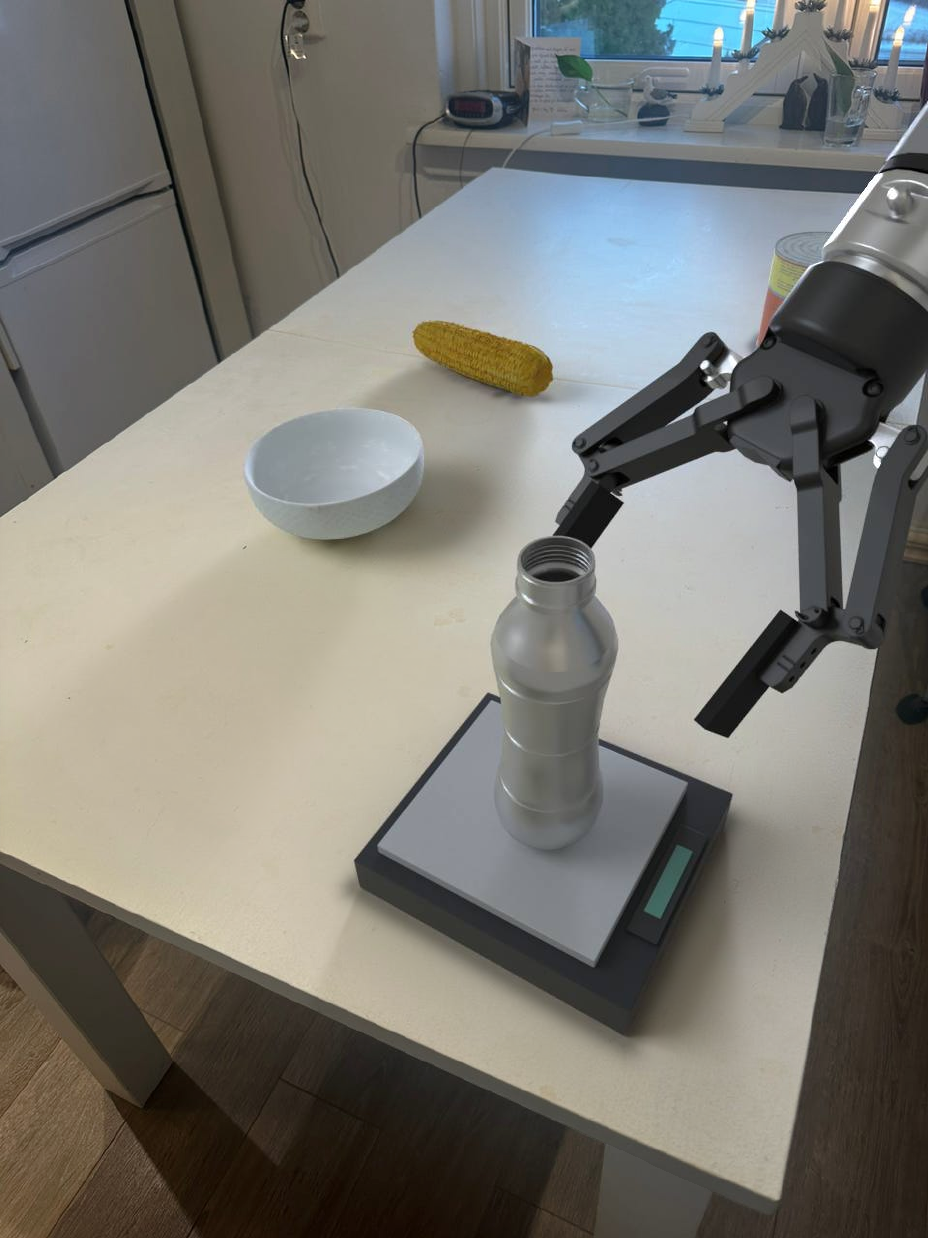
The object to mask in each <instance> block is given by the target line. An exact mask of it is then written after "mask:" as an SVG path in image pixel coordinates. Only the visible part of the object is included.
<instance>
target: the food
mask: <svg viewBox="0 0 928 1238" xmlns="http://www.w3.org/2000/svg"><path fill="white" fill-rule="evenodd" d="M412 338H413V345H415V348H416V349H417V351H419V353H420V354H421V355H423V356H424V357H425V358H427V359H429V360H431V362H432V361H433V362H434V363H436V364H439V366H443V367H446V368H448V369H449V370H452V371H453V372H455V373H457V374H460V375H463V376H464V377H467V378H470V379H472V380H475V381H478V382H481V383H483V384H485V385H486V384H487V386H493V387H496V388H499V389H503V390H504V391H507V392H509V393H512V394H517V395H521V396H525V397H536V396H539V395H540V394H541V393H543V392H544V391H546V390H547V389H548V388H549V386H550V384H551V383H552V382H553V380H554V375H553V368H554V365H553V362H552V361H551V359H550V357H549V356H548V355H547V354H546V353H545V352H544V351H543V350H541V349H540V348H538V347H536V346H534V345H531V344H529V343H526V342H523V341H520V340H519V341H518V340H515V339H512V338H511V339H510V338H507V337H505V336H499V335H497V334H492V333H490V331H485V330H480V329H477V328H471V327H467V326H465V325H464V324H462V325H461V324H460V323H455V322H450V321H443V320H428V321H422V322H421V323H418V324H417V326H415V328H414V330H413V331H412Z"/></svg>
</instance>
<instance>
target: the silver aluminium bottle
mask: <svg viewBox="0 0 928 1238" xmlns="http://www.w3.org/2000/svg"><path fill="white" fill-rule="evenodd" d="M514 590H515V596H514V597H513V598H512V599H511V601H510V602H509V603H508V604H507V605H506V607H505V608H504V609H503V610H502V612H501V613H500V614H499V616H498V618H497V620H496V622H495V625H494V628H493V631H492V633H491V638H490V643H489V644H490V653H491V660H492V666H493V667H492V668H493V671H494V676H495V681H496V685H497V690H498V694H499V695H498V696H499V697H500V699H501V710H502V721H503V740H502V750H501V759H500V762H499V765H498V768H497V772H496V777H495V783H494V791H493V796H494V803H495V807H496V810H497V813H498V816H499V819H500V822H501V824H502V825H503V827H504V829H505V830H506V831H507V832H508V833H509V834H510V835H511V836H512V837H513V838H514V839H516V840H517V841H519V842H520V843H522V844H525V845H527V846H529V847H532V848H537V849H542V850H553V849H559V848H563V847H566V846H569V845H572V844H574V843H575V842H577V841H579V840H580V839H582V838H583V837H584V836H586V835H587V833H588V832H589V831H590V830H591V829H592V827H593V825H594V824H595V822H596V820H597V817H598V814H599V812H600V809H601V806H602V803H603V798H604V788H603V778H602V772H601V768H600V763H599V739H598V738H599V732H600V728H601V727H600V726H601V719H602V715H603V709H604V703H605V698H606V695H607V693H608V692H607V691H608V688H609V685H610V681H611V678H612V675H613V671H614V670H615V669H614V668H615V665H616V662H617V658H618V652H619V636H618V634H617V630H616V626H615V623H614V619H613V617H612V615H611V614H610V612H609V611H608V609H607V608H606V607H605V606H604V605H603V603H602V602H601V601H600V599H599V598H597V596H596V593H597V577H596V557H595V553H594V551H593V549H592V548H590V547H589V546H588V545H586V544H585V543H583V542H582V541H580V540H577V539H575V538H571V537H566V536H552V535H549V536H547V535H546V536H543V537H539V538H537V539H534V540H532V541H530V542H528V543H527V544H526V545H524V546H523V547H522V549H520V551H519V554H518V555H517V561H516V577H515V581H514Z"/></svg>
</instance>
